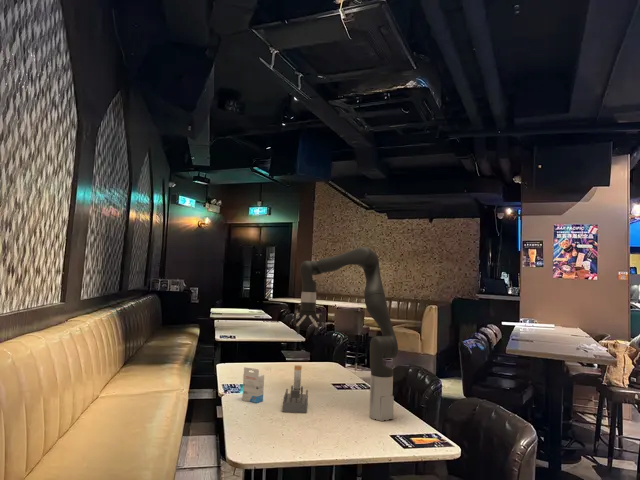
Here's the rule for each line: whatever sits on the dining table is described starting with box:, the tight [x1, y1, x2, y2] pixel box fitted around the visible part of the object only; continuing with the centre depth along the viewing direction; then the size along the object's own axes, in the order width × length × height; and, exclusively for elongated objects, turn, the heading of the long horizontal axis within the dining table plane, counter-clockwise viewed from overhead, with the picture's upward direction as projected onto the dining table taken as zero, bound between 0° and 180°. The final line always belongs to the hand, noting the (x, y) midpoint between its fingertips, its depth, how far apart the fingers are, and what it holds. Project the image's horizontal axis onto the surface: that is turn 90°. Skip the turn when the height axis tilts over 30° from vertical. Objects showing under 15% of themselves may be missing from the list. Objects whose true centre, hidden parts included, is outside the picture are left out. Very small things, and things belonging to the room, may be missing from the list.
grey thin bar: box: [293, 364, 303, 391], centre depth 207 cm, size 1×3×11 cm, turn 90°
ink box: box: [241, 367, 265, 404], centre depth 209 cm, size 9×5×15 cm, turn 62°
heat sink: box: [282, 385, 309, 414], centre depth 201 cm, size 15×10×9 cm, turn 0°
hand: (306, 334), depth 228 cm, fingers open, 8 cm apart
